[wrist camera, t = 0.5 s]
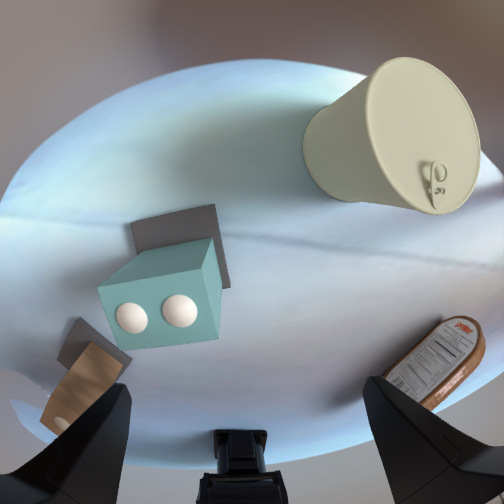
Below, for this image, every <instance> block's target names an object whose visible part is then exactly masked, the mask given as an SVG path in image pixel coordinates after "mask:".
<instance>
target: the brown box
mask: <svg viewBox="0 0 504 504" xmlns="http://www.w3.org/2000/svg"><path fill="white" fill-rule="evenodd" d="M122 366H123V365H122V364H121V363H120V362H118V361H117V360H116V359H114V358H113V357H112V356H110V355H109V354H108V353H106V352H105V351H104V350H103V349H101V348H100V347H99V346H98V345H96V344H95V343H94V342H93V341H92V342H91V343H90V344H89V345H88V347H87V348H86V349H85V350H84V352H83V353H82V354H81V356H80V357H79V358H78V359H77V361H76V362H75V363H74V365H73V366H72V367H71V369H70V370H69V371H68V372H67V374H66V375H65V376H64V378H63V379H62V381H61V382H60V383H59V385H58V386H57V387H56V389H55V390H54V391H53V393H52V394H51V396H50V398H49V401H48V403H47V405H46V407H45V410H44V412H43V414H42V417H41V419H40V422H41V423H42V424H43V425H45V426H46V427H47V428H48V429H50V430H51V431H52V432H54V433H55V434H56V435H58V436H59V435H60V434H61V433H62V432H63V431H64V430H66V429H67V428H68V427H69V426H70V425H71V424H72V423H73V422H74V421H75V420H76V419H77V418H78V417H79V416H80V415H81V414H82V413H83V412H84V411H85V410H86V409H88V408H89V407H90V406H91V405H92V404H93V403H94V402H95V401H96V400H97V399H98V398H99V397H100V396H101V395H102V394H103V393H104V392H105V391H106V390H107V389H108V388H110V387H111V386H112V385H113V383H114V381H115V379H116V377H117V375H118V373H119V372H120V370H121V368H122Z"/></svg>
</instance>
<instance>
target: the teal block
mask: <svg viewBox="0 0 504 504" xmlns="http://www.w3.org/2000/svg"><path fill="white" fill-rule="evenodd" d="M97 290H98V294H99V297H100V300H101V302H102V305H103V308H104V311H105V314H106V317H107V319H108V322H109V325H110V327H111V330H112V332H113V335H114V337H115V340H116V342H117V345H118V347H119V349H120V351H123V350H135V349H146V348H155V347H164V346H173V345H180V344H188V343H195V342H202V341H209V340H215V339H219V326H220V310H221V295H222V280H221V276H220V271H219V266H218V262H217V257H216V252H215V247H214V242H213V238H212V237H211V238H205V239H200V240H195V241H190V242H185V243H180V244H175V245H170V246H165V247H160V248H156V249H151V250H146V251H143V252H141V253H140V254H139V255H137V256H136V257H135V258H133V259H132V260H131V261H129V262H128V263H127V264H126V265H124V266H123V267H122V268H120V269H119V270H118V271H117V272H115V273H114V274H113V275H111V276H110V277H109V278H108V279H106V280H105V281H104V282H103V283H102V284H100V285H99V286H98V287H97Z"/></svg>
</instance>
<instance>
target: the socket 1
mask: <svg viewBox="0 0 504 504" xmlns="http://www.w3.org/2000/svg"><path fill="white" fill-rule="evenodd" d="M92 341H93V342H94V343H95V344H96V345H98V346H99V347H100V348H101V349H103V350H104V351H105V352H106V353H108V354H109V355H110V356H112V357H113V358H114V359H116V360H117V361H118V362H120V363H121V364H122V365H123V366H122V368H121V370H120V372H119V373H118V375H117V377H116V379H115V381H114V383H115V382H116V381H117V380H118V378H119V377H120V376H121V375H122V373H123V372H124V371H125V369H126V368H127V367H128V366H129V364H130V363H131V361H132V358H131V357H129V356H128V355H126V354H125V353H124V352H122V351H120V349H119V348H117V347H116V346H115V345H113V344H112V343H111V342H110V341H108V340H107V339H106V338H104V337H103V336H102V335H101V334H100V333H98V332H97V331H96V330H95V329H94V328H92V327H91V326H90V325H89V324H88V323H87V322H85V321H84V320H83V319H82V318H81V317H80V318H79V319H78V320H77V321H76V322H75V324H74V326H73V328H72V330H71V332H70V334H69V336H68V338H67V340H66V341H65V343H64V346H63V348H62V350H61V352H60V354H59V356H58V358H57V360H58V361H59V362H60V363H61V364H63V365H64V366H65V367H66V368H67V369H68V370H70V369H71V367H72V366H73V365H74V363H75V362H76V361H77V359H78V358H79V357H80V356H81V354H82V353H83V352H84V350H85V349H86V348H87V347H88V345H89V344H90V343H91V342H92ZM114 383H113V384H114Z"/></svg>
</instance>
